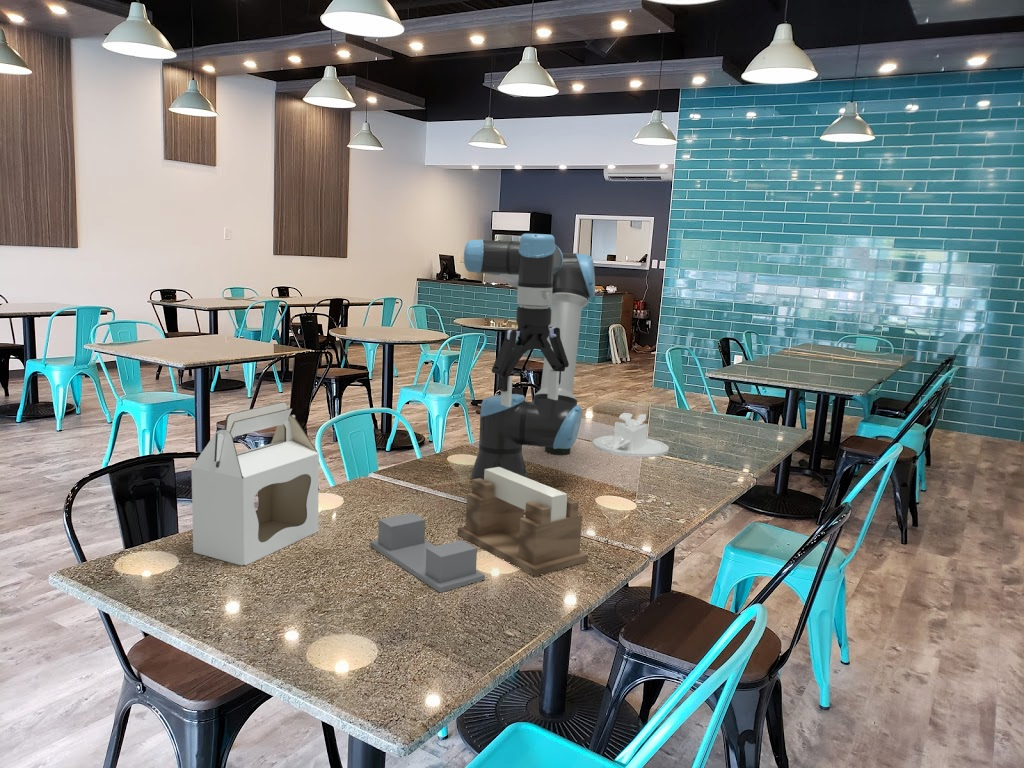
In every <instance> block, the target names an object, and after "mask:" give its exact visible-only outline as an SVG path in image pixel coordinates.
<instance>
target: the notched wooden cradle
mask: <svg viewBox="0 0 1024 768" xmlns="http://www.w3.org/2000/svg"><path fill="white" fill-rule="evenodd" d="M471 481H472V482H471V483H472V484H471V492H469V493H467V494H466V506H465V507H466V511H465V515H466V516H465V526H460V527H457V535H458V537H459V536H460V537H461V538H463V539H465V540H466V541H469V542H470V543H472V544H474V545H476V546H478V547H479V548H481V549H483V550H485V551H486V552H489V554H492V555H494V556H495V557H497V556H498V558H499V557H500V559H501V558H502V559H501V560H503V559H504V560H503V561H505V560H506V561H505V562H507V561H508V562H510V563H511V564H510V563H509V564H510V565H512V564H513V565H512V566H514V565H515V566H514V567H516V566H517V567H516V568H518V567H519V568H521V569H522V571H523V570H524V571H523V572H525V571H526V572H525V573H527V572H528V573H527V574H529V573H530V574H532V575H534V576H537V577H539V576H538V575H541V574H544V575H546V574H545V573H547V574H549V573H548V572H551V573H553V572H552V571H554V572H557V571H556V570H558V569H561V570H563V569H562V568H564V569H566V568H565V567H568V568H570V566H571V567H573V566H574V565H575V566H578V565H581V564H583V563H584V564H585V563H588V562H589V554H587V553H586V552H584V551H581V540H582V539H581V538H582V536H581V534H582V522H583V515H582V514H580V513H579V501H577V500H574V499H572V498H570V497H567V509H566V518H564V519H560V520H556V521H552V522H550V508H548V507H546V506H544V505H541V504H539V503H537V502H534V501H532V502H527V503H526V510H524V509H521V508H519V507H517V506H515V505H512V504H510V503H508V502H506V501H504V500H501V499H499V498H497V497H495V496H493V492H494V484H492V483H490V482H488V481H485V480H483V479H481V478H478V479H471ZM524 513H525V514H524ZM508 562H507V563H508ZM577 564H578V565H577ZM519 568H518V569H519ZM521 569H520V570H521ZM558 571H559V570H558ZM530 574H529V575H530ZM532 575H531V576H532ZM534 576H533V577H534ZM541 576H542V575H541Z"/></svg>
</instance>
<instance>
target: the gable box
mask: <svg viewBox="0 0 1024 768" xmlns="http://www.w3.org/2000/svg"><path fill="white" fill-rule="evenodd" d="M292 410H293V408H288V405H287V403H285V402H283V401H282V402H278V403H273V404H268V405H263V406H259V407H254V408H249V409H246V410H240V411H235V412H231V413H228V414H227V416H226V417H225V423H224V429H219V430H217V431H215V433H214V435H213V436H212V437H211V439H210V440H209V441H208V443H207V445H206V446H205V447H204V449H203V450H202V452H201V453H200V454H199V456H198V457H197V459H196V461H195V462H194V463H193V464H192V466H191V499H192V500H191V505H192V506H191V507H192V509H191V510H192V551H193V553H195V554H198V555H201V556H205V557H209V558H213V559H216V560H219V561H224V562H227V563H230V564H234V565H238V566H242V567H246V566H248V565H250V564H252V563H255V562H256V561H259V560H261V559H263V558H265V557H267V556H269V555H271V554H273V553H275V552H278V551H280V550H282V549H284V548H286V547H288V546H290V545H292V544H295V543H296V542H300V541H301V540H303V539H305V538H307V537H310V536H312V535H314V534H316V533H318V532H319V479H320V478H319V476H320V475H319V465H320V463H319V462H320V461H319V460H320V459H319V457H320V453H319V452H318V450H317V448H316V447H315V446H314V444H313V443H312V441H311V439H310V438H309V437H308V435H307V434H306V432H305V431H304V429H303V427H302V426H301V424H300V422H299V421H298V420H297V418H296V414H291V412H292ZM274 427H276V429H275V432H274V434H273V437H272V440H271V443H269V444H265V445H262V446H258V447H255V448H251V449H247V450H244V451H239V452H238V453H237V449H236V446H235V441H234V438H236V437H239V436H242V435H246V434H250V433H254V432H259V431H262V430H266V429H270V428H274ZM256 495H257V497H258V498H257V499H258V504H257V505H258V506H257V509H256V508H255V498H256Z"/></svg>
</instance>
